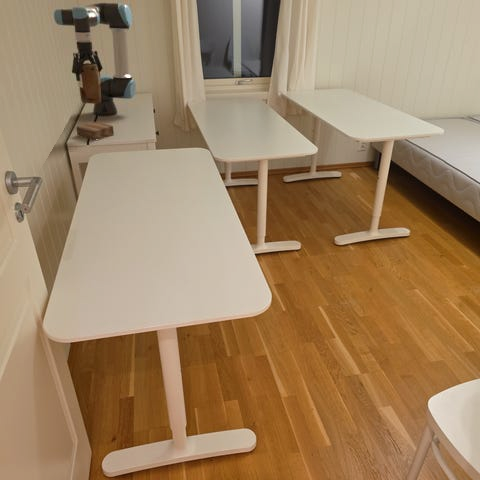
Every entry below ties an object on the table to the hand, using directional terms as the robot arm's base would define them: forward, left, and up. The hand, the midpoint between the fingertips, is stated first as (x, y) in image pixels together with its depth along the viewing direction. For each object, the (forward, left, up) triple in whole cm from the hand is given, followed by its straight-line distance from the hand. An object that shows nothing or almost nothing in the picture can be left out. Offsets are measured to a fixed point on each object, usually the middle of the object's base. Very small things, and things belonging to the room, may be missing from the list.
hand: (89, 85), depth 241 cm
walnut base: (0, 0, -27) cm, 27 cm away
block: (0, 0, -9) cm, 9 cm away
